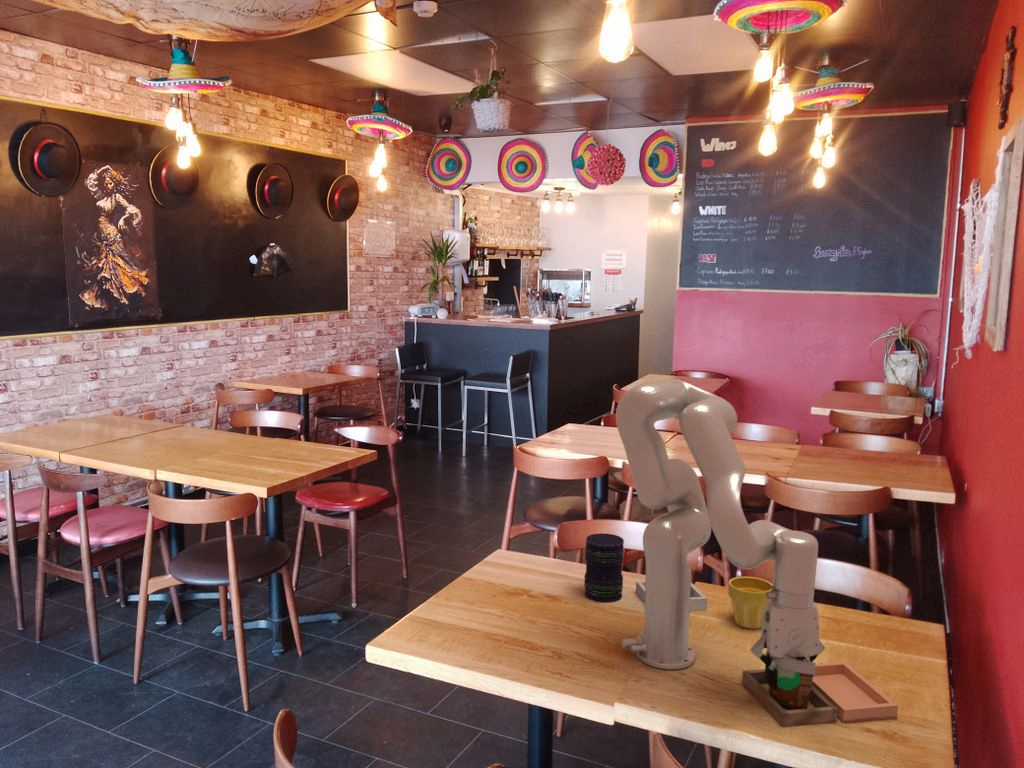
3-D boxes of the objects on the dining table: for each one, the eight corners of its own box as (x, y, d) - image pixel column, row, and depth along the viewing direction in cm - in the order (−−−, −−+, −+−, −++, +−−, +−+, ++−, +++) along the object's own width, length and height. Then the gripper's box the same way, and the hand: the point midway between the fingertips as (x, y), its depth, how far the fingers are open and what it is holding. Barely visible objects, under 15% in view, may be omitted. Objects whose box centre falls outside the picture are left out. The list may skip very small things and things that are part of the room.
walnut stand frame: (781, 726, 142) (782, 714, 142) (742, 682, 158) (742, 670, 158) (836, 721, 144) (837, 709, 144) (792, 678, 160) (792, 667, 160)
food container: (752, 679, 157) (757, 633, 156) (781, 679, 158) (786, 633, 156) (779, 714, 145) (785, 664, 144) (810, 714, 146) (816, 664, 144)
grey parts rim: (653, 613, 191) (653, 601, 190) (635, 592, 203) (636, 581, 203) (706, 609, 193) (707, 598, 193) (686, 589, 206) (687, 578, 205)
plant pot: (731, 610, 193) (732, 572, 191) (774, 618, 188) (776, 580, 187) (722, 627, 183) (724, 587, 182) (768, 636, 179) (770, 595, 178)
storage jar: (624, 589, 205) (625, 535, 203) (620, 604, 195) (622, 547, 193) (586, 586, 207) (588, 532, 205) (581, 600, 198) (582, 544, 196)
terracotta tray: (843, 722, 144) (844, 710, 144) (795, 676, 160) (796, 665, 160) (897, 717, 146) (898, 705, 145) (844, 673, 162) (844, 661, 162)
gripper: (760, 606, 143) (753, 698, 146) (844, 602, 146) (836, 692, 149) (741, 590, 151) (735, 677, 153) (822, 586, 154) (814, 672, 156)
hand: (785, 683), depth 151 cm, fingers closed on food container, 5 cm apart
